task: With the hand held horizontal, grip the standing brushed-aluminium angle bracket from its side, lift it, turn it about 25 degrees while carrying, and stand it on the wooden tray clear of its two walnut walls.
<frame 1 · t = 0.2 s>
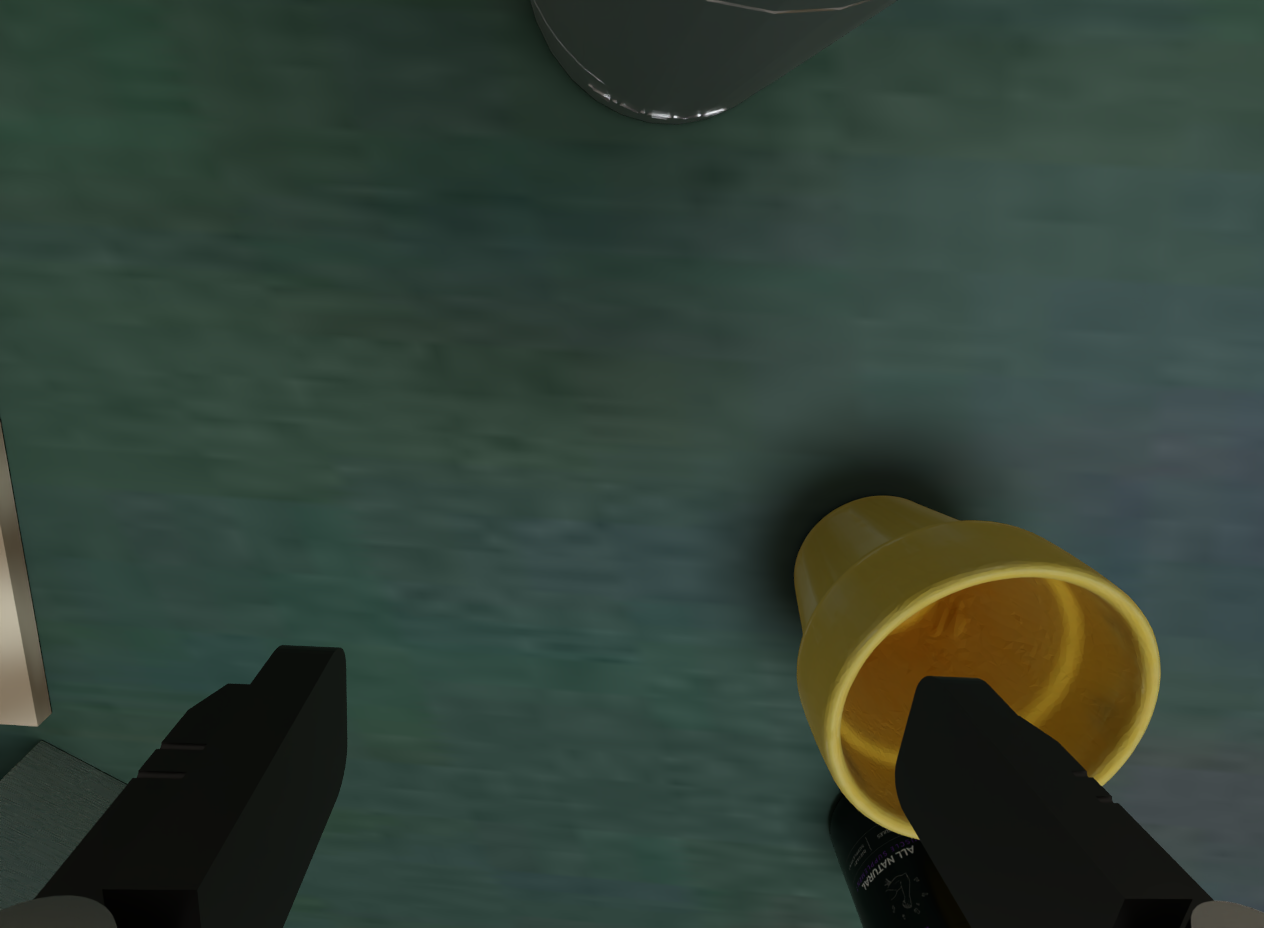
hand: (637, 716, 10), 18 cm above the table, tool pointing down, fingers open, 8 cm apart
supplement bottle: (889, 811, 35), on the table
plant pot: (867, 559, 30), on the table
bracket: (67, 802, 31), on the table
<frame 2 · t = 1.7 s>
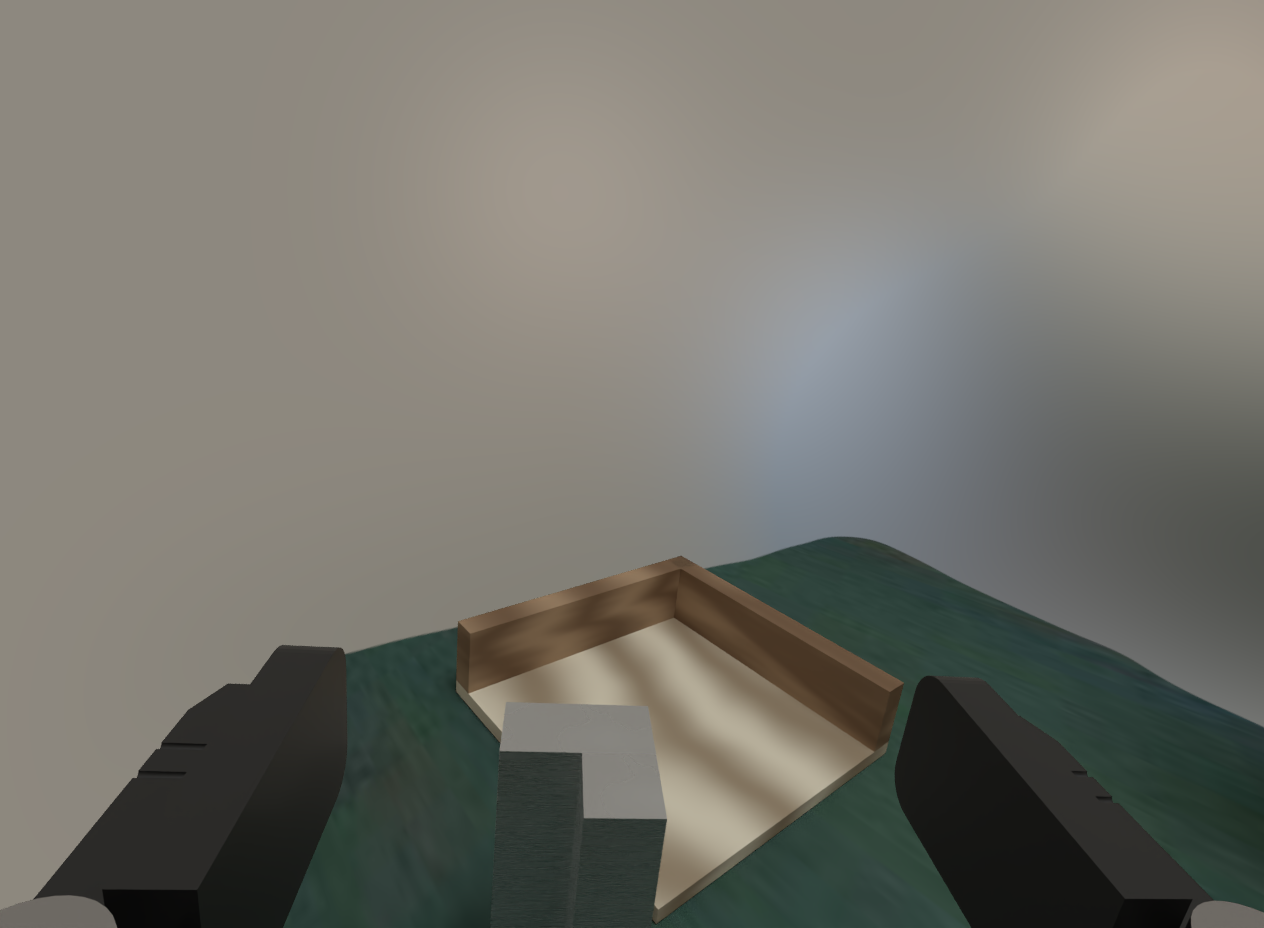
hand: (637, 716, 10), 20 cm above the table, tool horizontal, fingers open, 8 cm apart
wooden tray: (667, 721, 40), on the table
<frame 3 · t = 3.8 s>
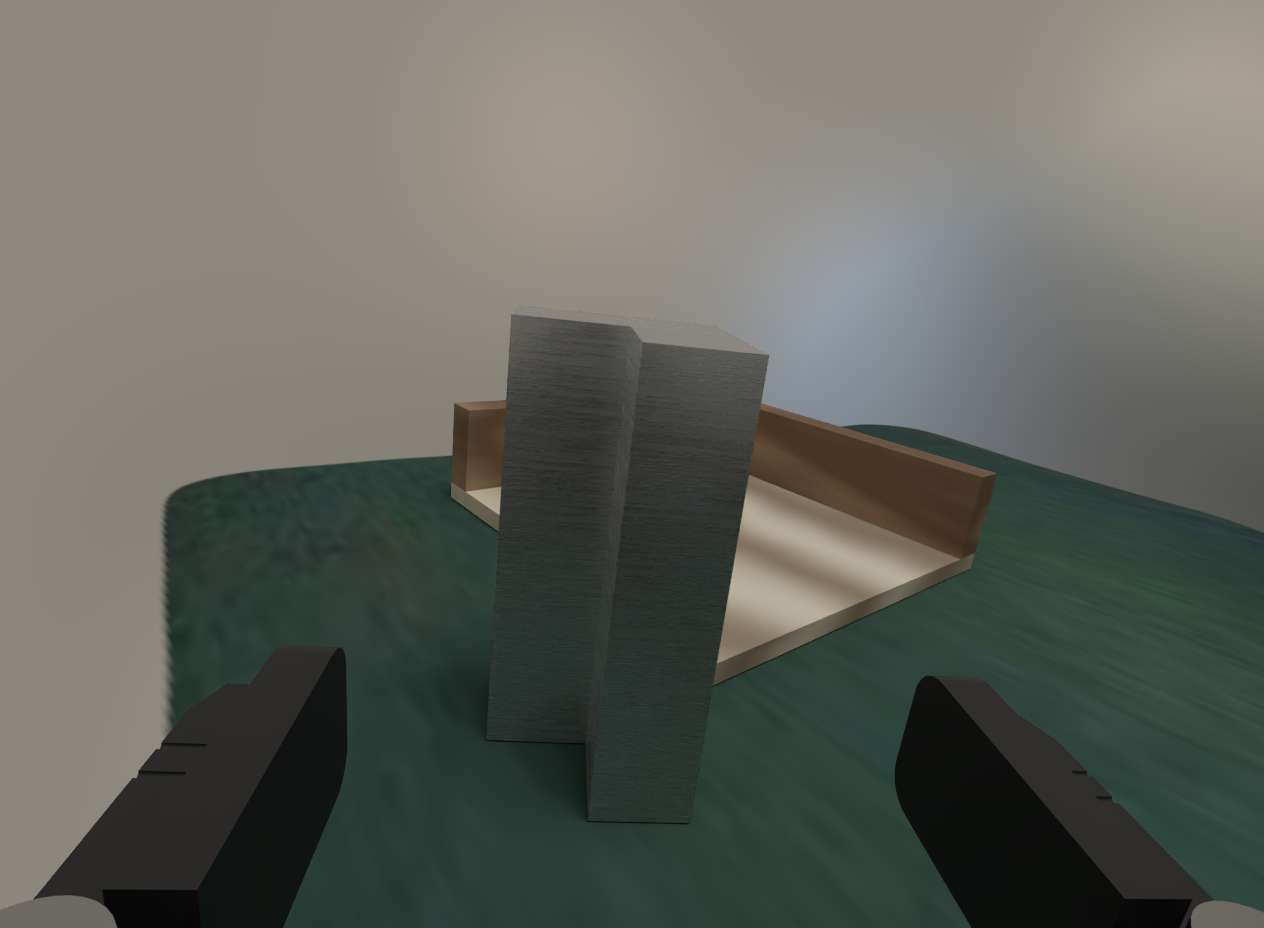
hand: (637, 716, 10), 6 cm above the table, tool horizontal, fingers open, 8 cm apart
wooden tray: (705, 532, 34), on the table
bracket: (581, 745, 18), on the table
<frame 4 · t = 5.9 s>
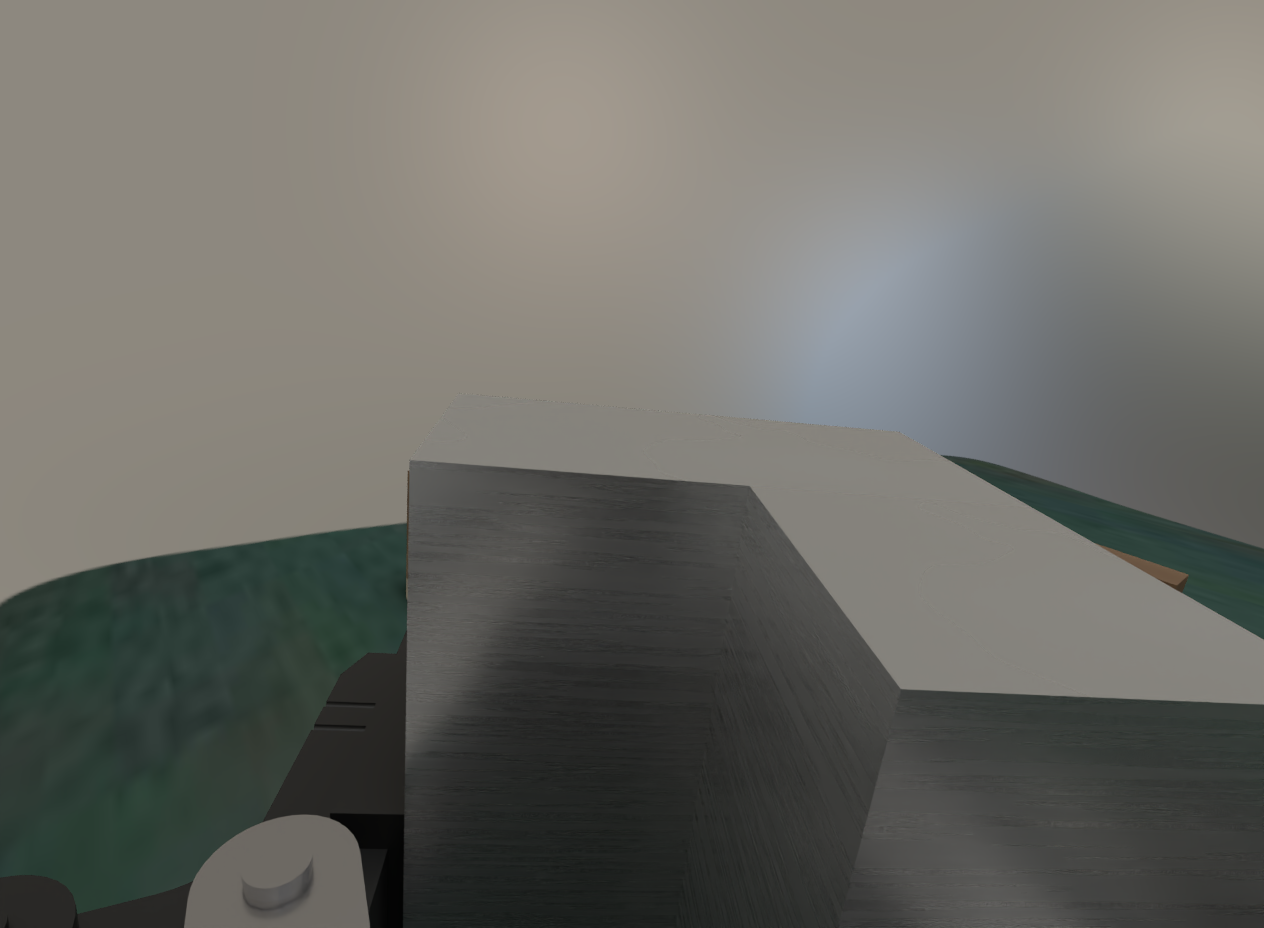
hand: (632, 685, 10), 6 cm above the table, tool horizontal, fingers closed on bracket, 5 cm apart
wooden tray: (762, 649, 24), on the table
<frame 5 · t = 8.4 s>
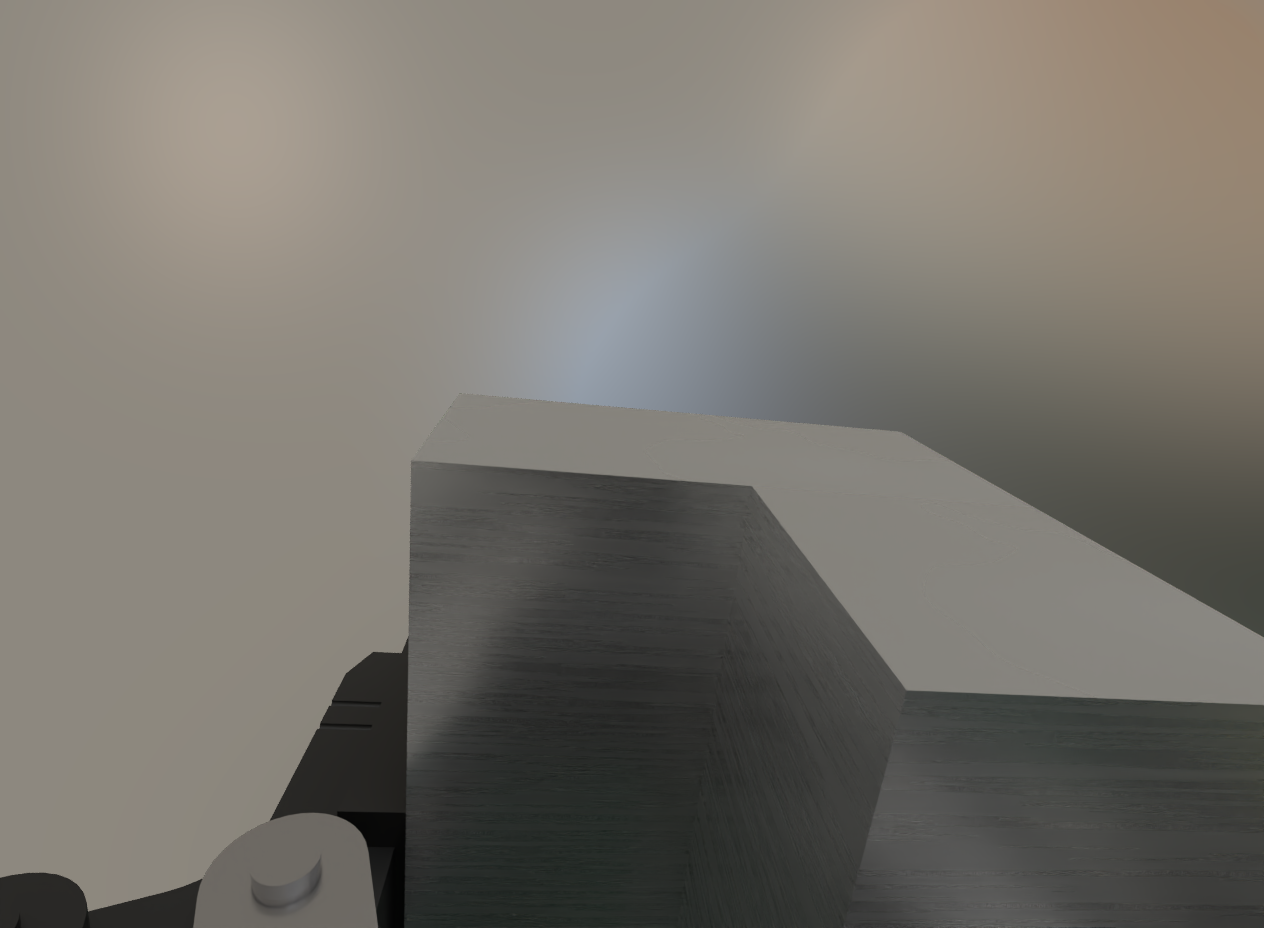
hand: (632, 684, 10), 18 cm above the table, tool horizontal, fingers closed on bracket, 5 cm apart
when the fingers open (9 cm above the table, at t = 10.8 s): bracket drops 1 cm, resting on wooden tray.
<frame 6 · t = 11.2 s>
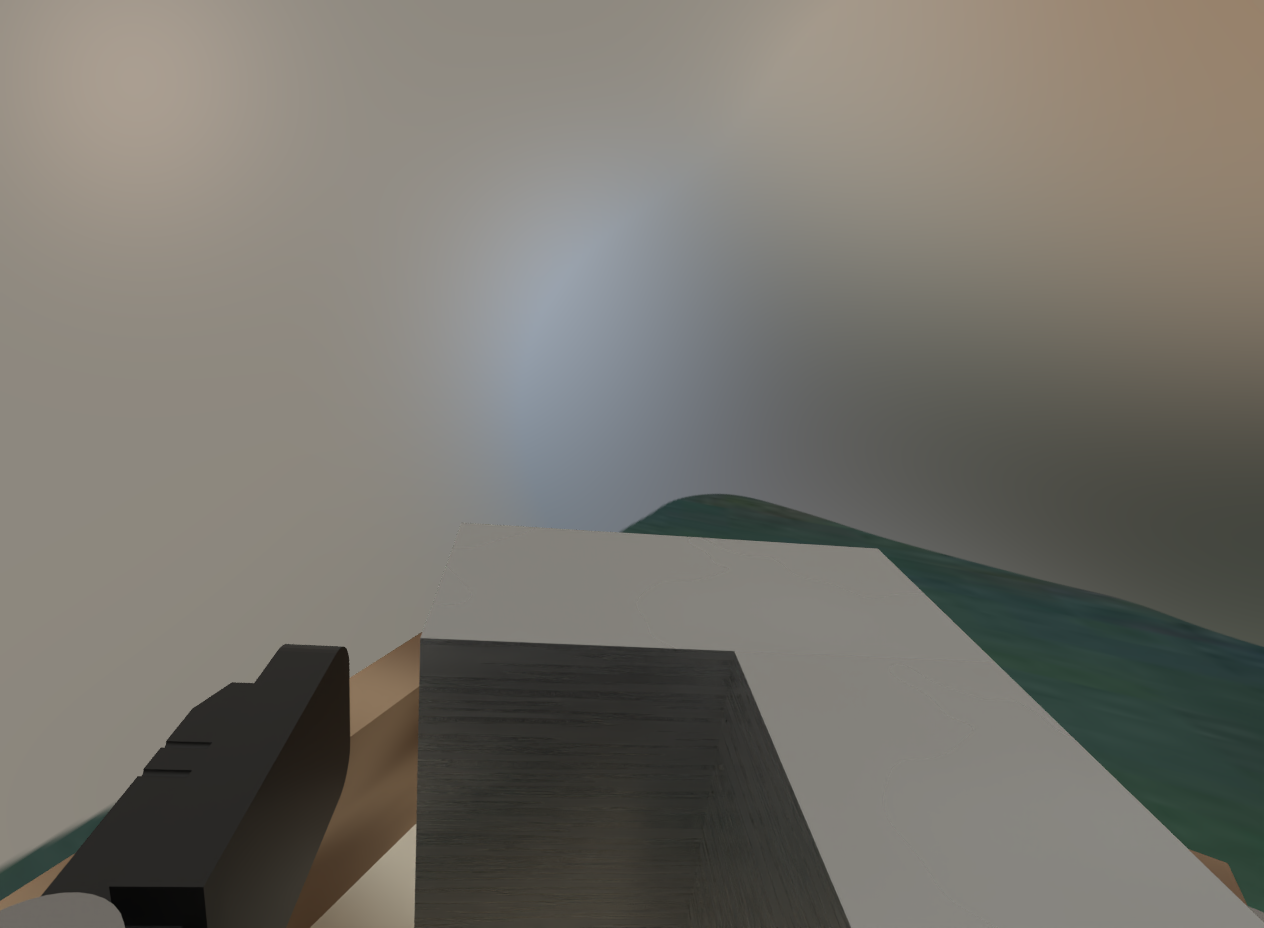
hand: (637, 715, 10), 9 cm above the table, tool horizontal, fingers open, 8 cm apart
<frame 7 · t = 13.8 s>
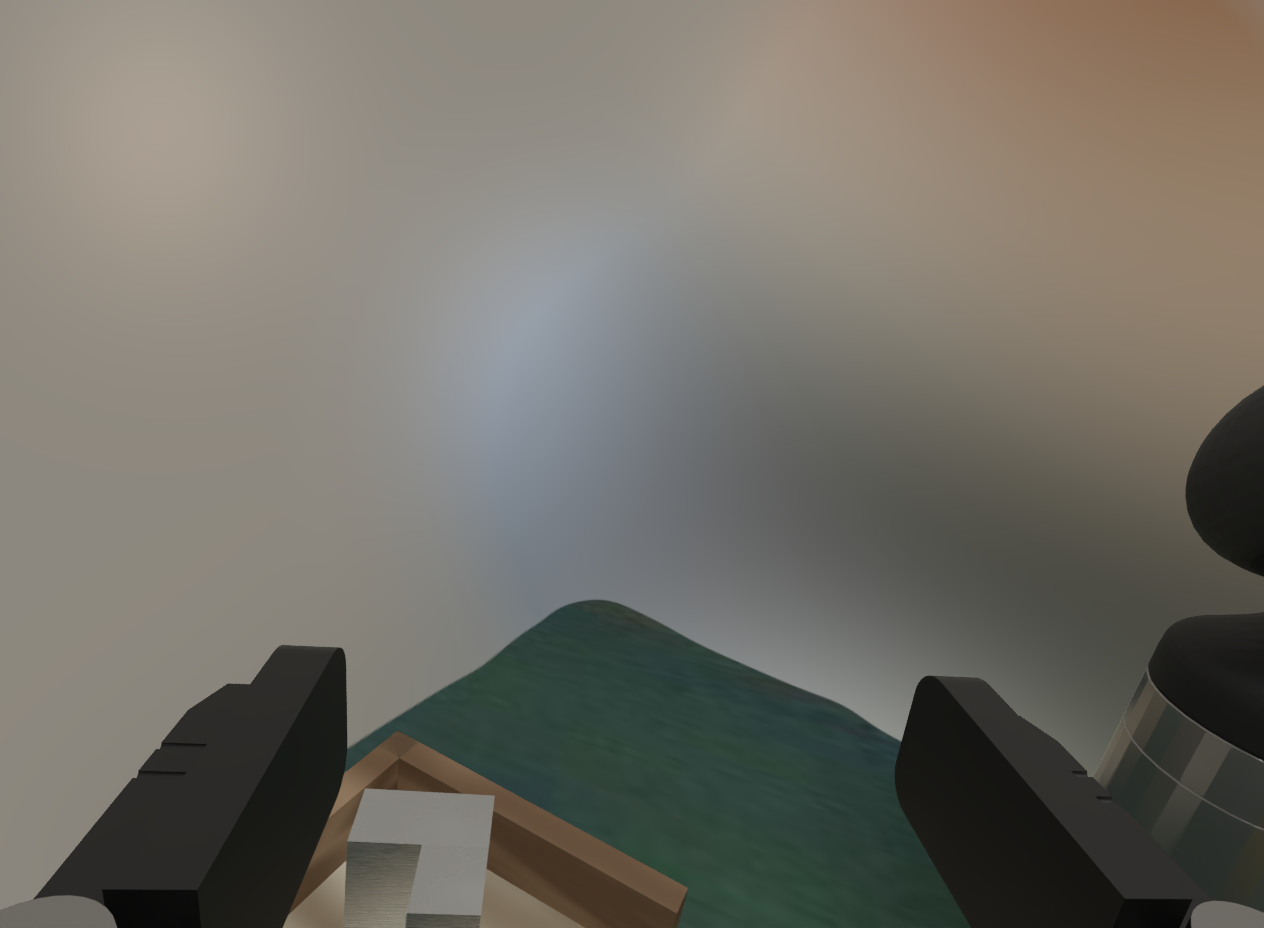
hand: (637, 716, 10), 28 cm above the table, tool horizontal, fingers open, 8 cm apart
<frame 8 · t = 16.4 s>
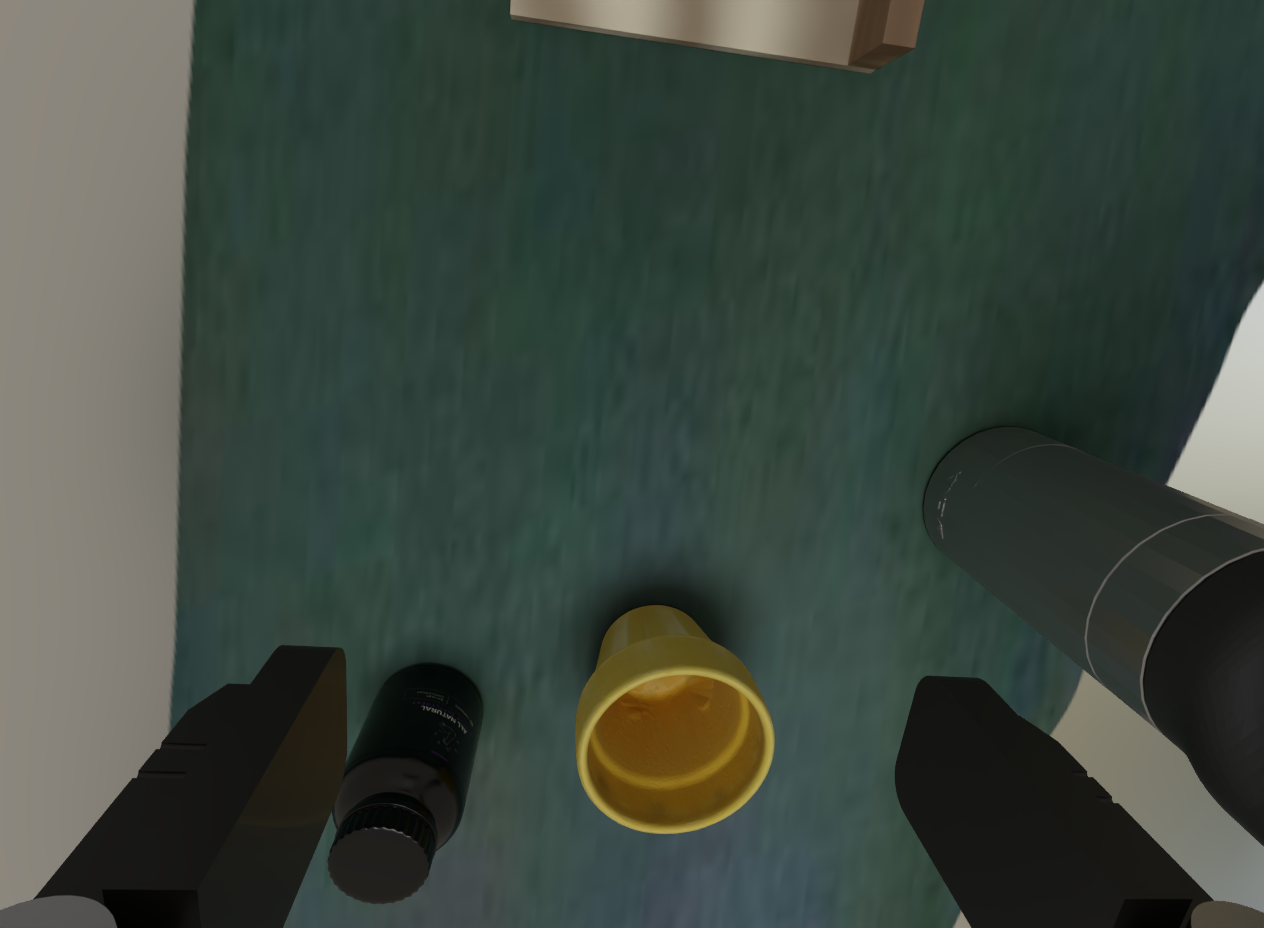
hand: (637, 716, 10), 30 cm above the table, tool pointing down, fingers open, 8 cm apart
supplement bottle: (430, 705, 44), on the table
plant pot: (654, 647, 44), on the table
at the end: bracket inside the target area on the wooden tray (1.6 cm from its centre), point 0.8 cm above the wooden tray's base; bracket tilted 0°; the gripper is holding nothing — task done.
